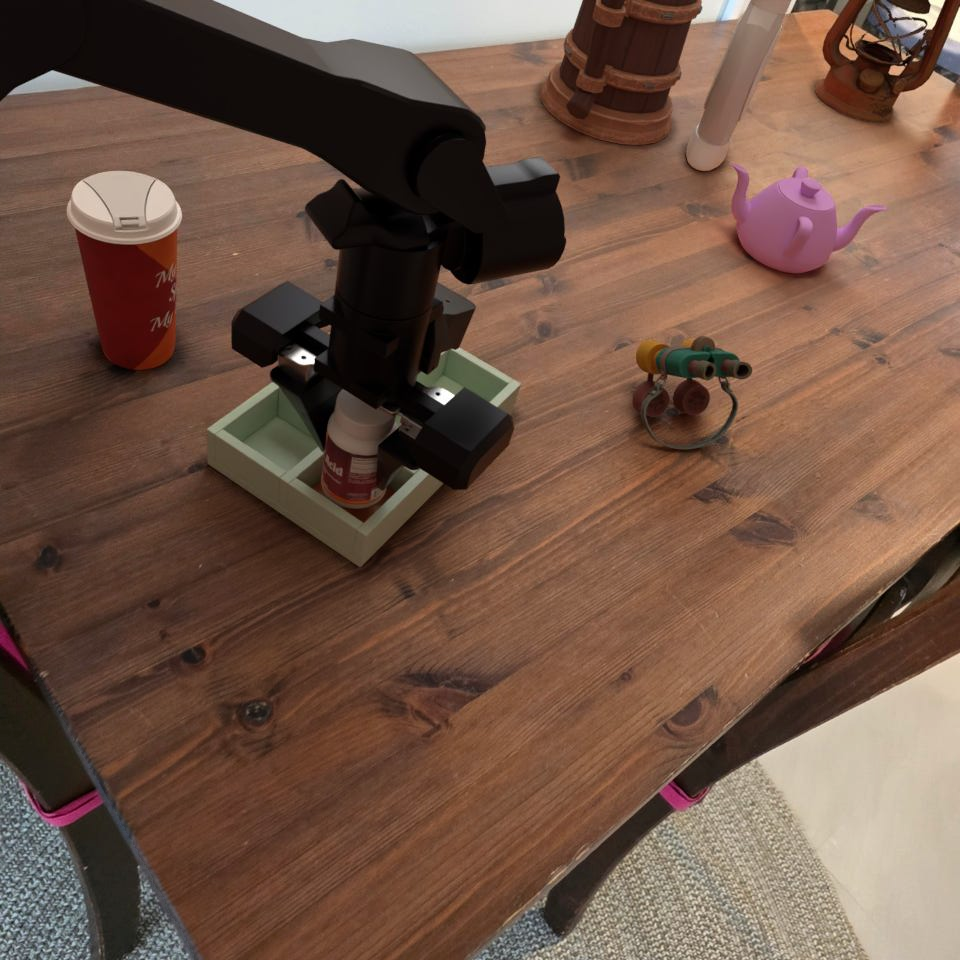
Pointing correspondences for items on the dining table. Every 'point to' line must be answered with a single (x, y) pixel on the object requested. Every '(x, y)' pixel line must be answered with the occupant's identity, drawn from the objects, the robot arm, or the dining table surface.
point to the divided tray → (298, 460)
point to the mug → (621, 69)
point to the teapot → (792, 222)
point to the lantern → (880, 60)
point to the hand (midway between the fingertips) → (356, 467)
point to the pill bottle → (354, 452)
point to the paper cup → (129, 263)
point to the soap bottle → (736, 81)
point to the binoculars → (689, 395)
